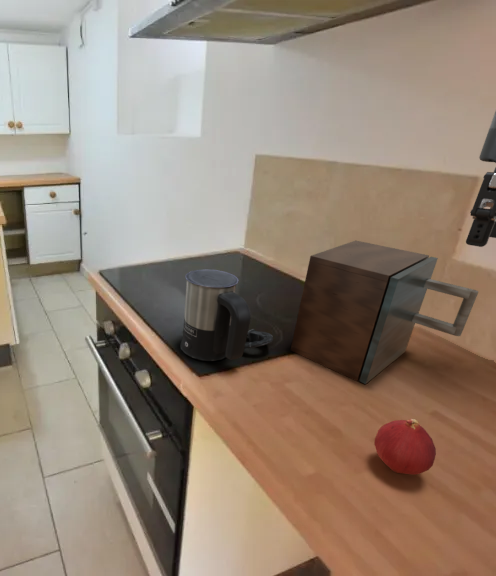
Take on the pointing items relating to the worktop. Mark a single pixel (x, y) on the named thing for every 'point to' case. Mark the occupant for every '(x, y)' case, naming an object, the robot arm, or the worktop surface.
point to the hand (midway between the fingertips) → (483, 240)
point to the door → (410, 315)
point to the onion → (405, 447)
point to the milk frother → (217, 318)
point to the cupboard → (346, 303)
